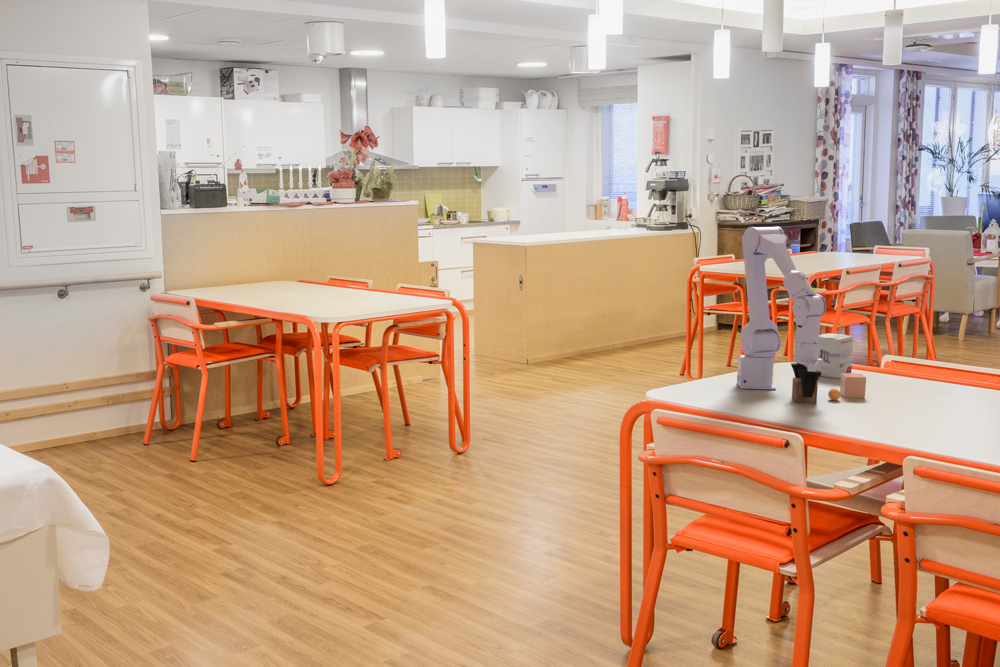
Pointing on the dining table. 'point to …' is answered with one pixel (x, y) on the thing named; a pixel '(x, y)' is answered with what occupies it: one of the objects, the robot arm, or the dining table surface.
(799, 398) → the brown block
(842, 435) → the dining table surface
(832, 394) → the orange ball
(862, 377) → the salmon pink block
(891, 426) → the dining table surface
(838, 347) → the ink box
